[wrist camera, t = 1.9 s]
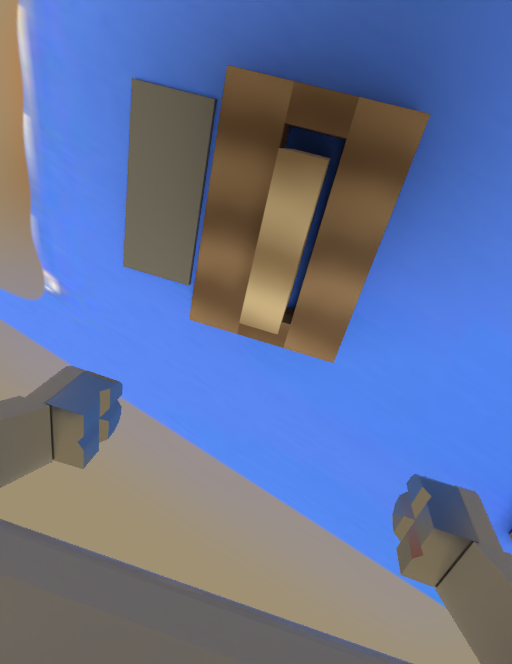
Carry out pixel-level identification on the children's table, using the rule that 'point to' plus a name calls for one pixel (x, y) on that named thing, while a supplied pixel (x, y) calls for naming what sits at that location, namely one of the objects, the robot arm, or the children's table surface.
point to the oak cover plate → (283, 236)
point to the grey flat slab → (166, 178)
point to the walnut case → (339, 216)
